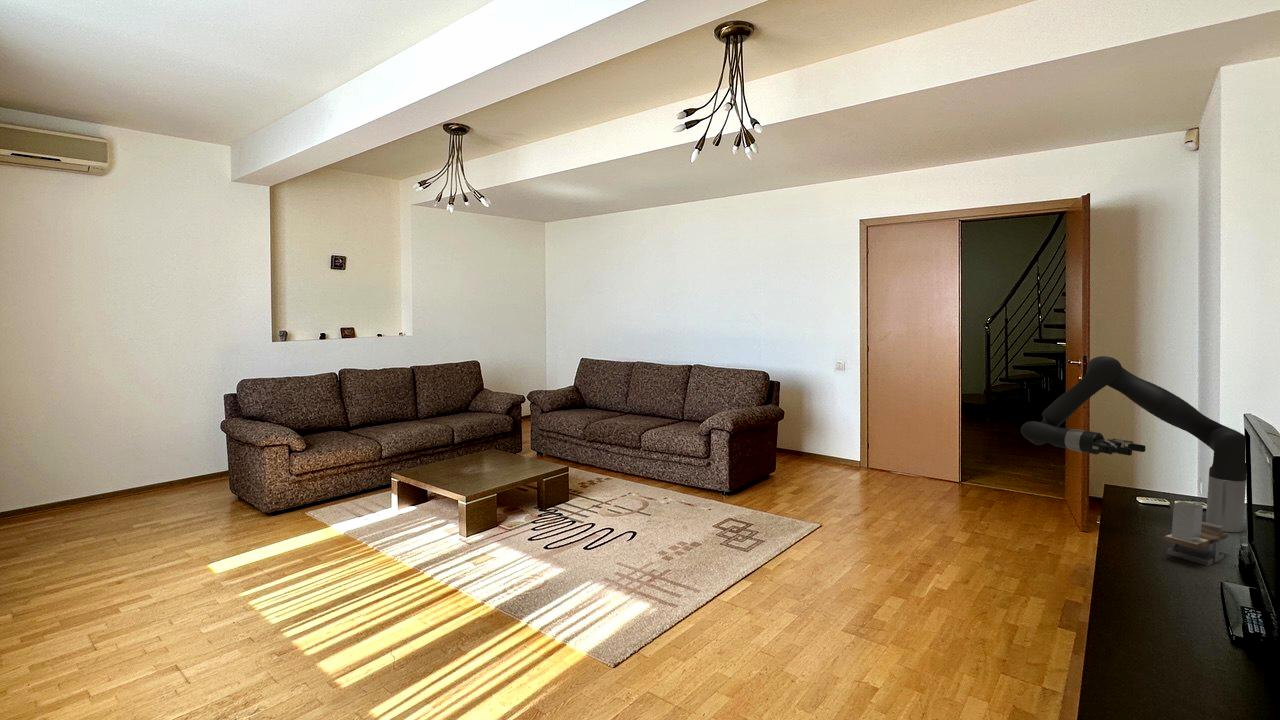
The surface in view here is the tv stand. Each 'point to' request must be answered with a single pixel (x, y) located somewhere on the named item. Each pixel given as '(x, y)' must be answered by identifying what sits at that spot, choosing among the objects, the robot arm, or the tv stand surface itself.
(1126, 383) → the robot arm
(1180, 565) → the tv stand surface
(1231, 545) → the tv stand surface
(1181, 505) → the weight block
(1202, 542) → the balance beam
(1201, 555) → the pivot stand
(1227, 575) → the tv stand surface
